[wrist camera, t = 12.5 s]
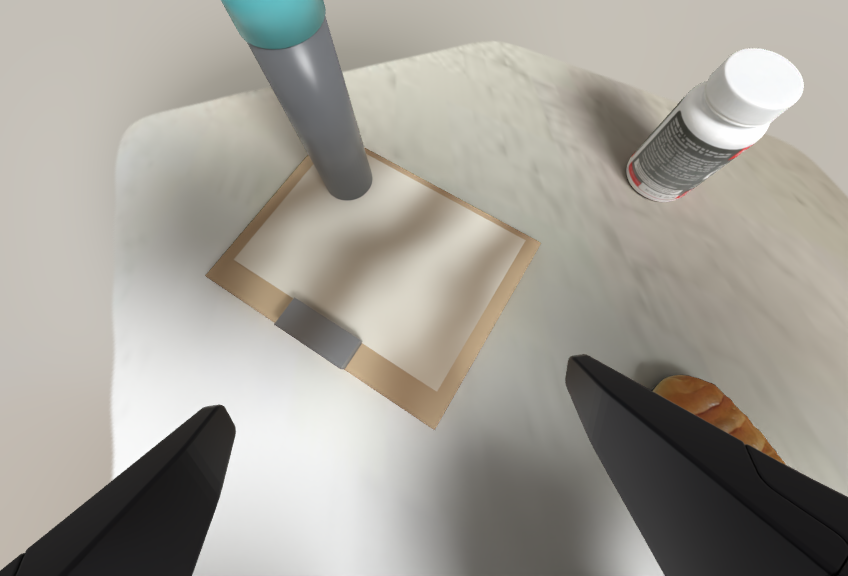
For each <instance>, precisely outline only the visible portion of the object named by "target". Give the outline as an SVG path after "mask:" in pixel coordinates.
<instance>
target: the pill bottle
mask: <svg viewBox="0 0 848 576" xmlns="http://www.w3.org/2000/svg"><path fill="white" fill-rule="evenodd" d="M803 85H804V84H803V79H802V76H801V74H800V72H799V71H798V70H797V68H796V67H795V66H794V65H793V64H792V63H791V62H790V61H789V60H787V59H786V58H784V57H783V56H781V55H779V54H777V53H774V52H772V51H769V50H765V49H759V48H749V49H743V50H740V51H737V52H735V53H733V54H732V55H731V56H729V57H728V58H727V59H726V60H725V61H724V62H723V63H722V64H721V65H720V67H719V68H717V69H716V70H715V71H714V72H713V73H712V74H711V75H710V77H709V79H708V81H706V82H703V83H700V84H699V85H697V86H696V87H694V88H693V89H692V90H690V91H689V92H688V94H687V95H686V96H685V97H684V98H683V99H682V100H681V101H680V102H679V103H678V105H677V106H676V107H675V108H674V109H673V110H672V111H671V113H670V114H669V115H668V116H667V117H666V118H665V119H664V120H663V122H662V123H661V124H660V125H659V126H658V127H657V128H656V129H655V131H654V132H653V133H652V134H651V135H650V136H649V137H648V138H647V140H646V141H645V142H644V143H643V144H642V145H641V146H640V147H639V148H638V149H637V151H635V152H634V154H633V155H632V156H631V158H630V159H629V161H628V164H627V169H626V172H627V177H628V180H629V182H630V184H631V186H632V187H633V188H634V189H635V190H636V191H637V192H638V193H640V194H641V195H643V196H644V197H646V198H648V199H651V200H654V201H658V202H670V201H674V200H677V199H679V198H681V197H682V196H684V195H685V194H687V193H688V192H689V191H691V190H692V189H694V188H695V187H696V186H698V185H699V184H700V183H702V182H703V181H704V180H706V179H707V178H708V177H710V176H711V175H712V174H714V173H715V172H717V171H718V170H719V169H721V168H722V167H723V166H725V165H726V164H727V163H729V162H730V161H731V160H733V159H734V158H735V157H737V156H738V155H740V154H741V153H742V152H744V151H745V150H746V149H748V148H749V147H750V146H752V145H753V144H754V143H756V142H757V141H758V140H759V139H760V138H761V137H762V136H763V135H764V134H765V132H766V131H767V129H768V127H769V124H770V122H772V121H773V120H774V119H775V118H776V117H778V116H779V115H780V114H782V113H783V112H784V111H786V110H787V109H788V108H789V107H790V106H792V105H793V104H794V103H795V102H796V101H797V100H798V99H799V98H800V97H801V95H802V92H803Z"/></svg>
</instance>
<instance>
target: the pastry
mask: <svg viewBox="0 0 848 576" xmlns="http://www.w3.org/2000/svg"><path fill="white" fill-rule="evenodd" d="M653 392H655V393H657V394H658V395H660V396H662V397H664V398H666V399H667V400H669V401H671V402H673V403H675V404H676V405H678V406H680V407H682V408H684V409H685V410H687V411H689V412H691V413H693V414H694V415H696V416H698V417H700V418H702V419H703V420H705V421H707V422H709V423H711V424H712V425H714V426H716V427H718V428H720V429H721V430H723V431H725V432H727V433H729V434H730V435H732V436H734V437H736V438H738V439H739V440H741V441H743V442H744V444H749V445H750V446H752V447H754V448H756V449H758V450H759V451H761V452H763V453H765V454H767V455H768V456H770V457H772V458H774V459H776V460H778V461H779V462H781V463H783V464H785V463H784V461H783V460H782V459H781V458H780V457H779V456H778V455H777V452H776V451H775V450H774V449H773V448H772V446H771V445H770V444H769V443H768V441H767V440H766V438H765V437H764V436H763V434H762V433H761V432H760V431H759V430H758V429H757V428H756V427H754V426H753V424H752V423H751V421H750V420H749V419H748V417H747V416H746V415H745V414H743V413H742V412H741V411H740V410H739V409H738V408H737V407H736V406H735V405H734V403H733V402H732V401H731V399H730V398H728V397H726V396H725V395H724V394H723V393H722V392H721V391H720V390H719V389H718V388H717V387H716V386H715V385H714V384H712V383H709V382H706V381H704V380H701V379H699V378H695V377H691V376H685V375H675V376H670V377H667V378H665V379H663V380H662V381H661V382H660V383H659V384H658V385H657V386H656V387H655V388H654V389H653Z"/></svg>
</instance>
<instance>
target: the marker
mask: <svg viewBox="0 0 848 576" xmlns="http://www.w3.org/2000/svg"><path fill="white" fill-rule="evenodd" d="M221 1H222V3H223V5H224V7H225V8H226V10H227V12H228V14H229V16H230V17H231V19H232V21H233V23H234V25H235V26H236V28H237V30H238V32H239V34H240V35H241V36H242V38H244V40H246V41H247V43H248V45H249V47H250V49H251V50H252V52H253V54H254V56H255V58H256V60H257V61H258V63H259V65H260V67H261V69H262V71H263V72H264V74H265V76H266V78H267V80H268V81H269V83H270V85H271V87H272V89H273V91H274V93H275V94H276V96H277V98H278V100H279V102H280V104H281V105H282V107H283V109H284V111H285V113H286V115H287V116H288V118H289V120H290V122H291V124H292V126H293V127H294V129H295V131H296V133H297V135H298V137H299V138H300V140H301V142H302V144H303V146H304V148H305V149H306V151H307V153H308V155H309V157H310V159H311V160H312V162H313V164H314V166H315V168H316V170H317V171H318V173H319V175H320V177H321V179H322V181H323V182H324V184H325V186H326V188H327V190H328V191H329V193H330V194H331V195H332V196H334V197H335V198H337V199H340V200H347V201H348V200H354V199H357V198H360V197H361V196H363V195H364V194H365V193H366V192H367V191H368V190H369V189H370V187H371V184H372V172H371V169H370V166H369V162H368V159H367V156H366V152H365V149H364V145H363V142H362V139H361V135H360V132H359V128H358V125H357V122H356V118H355V115H354V112H353V108H352V105H351V101H350V98H349V95H348V91H347V88H346V84H345V81H344V78H343V74H342V71H341V68H340V64H339V61H338V57H337V54H336V51H335V47H334V44H333V40H332V37H331V34H330V30H329V27H328V24H327V20H326V17H325V5H324V2H323V0H221Z"/></svg>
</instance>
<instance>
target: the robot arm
mask: <svg viewBox="0 0 848 576" xmlns="http://www.w3.org/2000/svg"><path fill="white" fill-rule="evenodd" d="M565 381H566V386H567V389H568V392H569V394H570V396H571V399H572V401H573V403H574V406H575V408H576V410H577V412H578V415H579V417H580V419H581V422H582V424H583V426H584V429H585V431H586V433H587V436H588V438H589V440H590V442H591V444H592V446H593V448H594V450H595V452H596V453H597V455H598V457H599V459H600V460H601V462H602V464H603V466H604V468H605V469H606V471H607V473H608V475H609V477H610V478H611V480H612V482H613V484H614V486H615V487H616V489H617V491H618V493H619V494H620V496H621V498H622V500H623V502H624V503H625V505H626V507H627V509H628V511H629V512H630V514H631V516H632V518H633V519H634V521H635V523H636V525H637V527H638V528H639V530H640V532H641V534H642V536H643V537H644V539H645V541H646V543H647V545H648V546H649V548H650V550H651V552H652V553H653V555H654V557H655V559H656V561H657V562H658V564H659V566H660V568H661V570H662V571H663V573H664V575H665V576H848V497H847V496H845V495H843V494H841V493H839V492H837V491H835V490H833V489H831V488H829V487H827V486H825V485H823V484H821V483H819V482H817V481H815V480H813V479H811V478H809V477H807V476H805V475H804V474H802V473H800V472H798V471H796V470H794V469H792V468H791V467H789V466H787V465H785V464H783V463H781V462H779V461H778V460H776V459H774V458H772V457H770V456H768V455H767V454H765V453H763V452H761V451H759V450H758V449H756V448H754V447H752V446H750V445H749V444H744V442H743V441H741V440H739V439H738V438H736V437H734V436H732V435H730V434H729V433H727V432H725V431H723V430H721V429H720V428H718V427H716V426H714V425H712V424H711V423H709V422H707V421H705V420H703V419H702V418H700V417H698V416H696V415H694V414H693V413H691V412H689V411H687V410H685V409H684V408H682V407H680V406H678V405H676V404H675V403H673V402H671V401H669V400H667V399H666V398H664V397H662V396H660V395H658V394H657V393H655V392H653V391H651V390H649V389H648V388H646V387H644V386H642V385H640V384H639V383H637V382H635V381H633V380H631V379H630V378H628V377H626V376H624V375H622V374H621V373H619V372H617V371H615V370H613V369H612V368H610V367H608V366H606V365H604V364H603V363H601V362H599V361H597V360H595V359H594V358H592V357H590V356H588V355H585V354H582V355H575V356H571V357H570V358H569V360H568V365H567V372H566V379H565ZM235 434H236V429H235V425H234V423H233V421H232V419H231V418H230V416H229V414H228V412H227V410H226V409H225V407H224V406H222V405H213V406H207V407H204V408H202V409H201V410H199V411H198V412H197V413H196V414H195V415H193V416H192V417H191V418H190V419H188V420H187V421H186V422H185V423H183V424H182V425H181V426H180V427H178V428H177V429H176V430H175V431H173V432H172V433H171V434H170V435H168V436H167V437H166V438H165V439H163V440H162V441H161V442H160V443H158V444H157V445H156V446H155V447H154V448H152V449H151V450H150V451H149V452H147V453H146V454H145V455H144V456H142V457H141V458H140V459H139V460H137V461H136V462H135V463H134V464H132V465H131V466H130V467H129V468H127V469H126V470H125V471H124V472H122V473H121V474H120V475H119V476H117V477H116V478H115V479H114V480H113V481H111V482H110V483H109V484H108V485H106V486H105V487H104V488H103V489H102V490H100V491H99V492H98V493H96V494H95V495H94V496H93V497H92V498H90V499H89V500H88V501H86V502H85V503H84V504H83V505H82V506H80V507H79V508H78V509H76V510H75V511H74V512H73V513H72V514H70V515H69V516H68V517H67V518H65V519H64V520H63V521H62V522H60V523H59V524H58V525H57V526H55V527H54V528H53V529H52V530H50V531H49V532H48V533H47V534H45V535H44V536H43V537H42V538H41V539H39V540H38V541H37V542H35V543H34V544H33V545H32V546H30V547H29V548H28V549H27V550H26V553H23V554H20V555H19V556H18V557H17V558H15V559H14V560H13V561H12V562H11V563H9V564H8V565H7V566H6V567H4V568H3V569H2V570H1V571H0V576H192V574H193V571H194V568H195V566H196V563H197V560H198V557H199V554H200V552H201V549H202V546H203V543H204V540H205V537H206V535H207V532H208V529H209V526H210V523H211V521H212V518H213V515H214V512H215V509H216V506H217V503H218V500H219V497H220V494H221V490H222V487H223V483H224V479H225V475H226V471H227V467H228V463H229V459H230V455H231V451H232V447H233V443H234V439H235Z"/></svg>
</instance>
